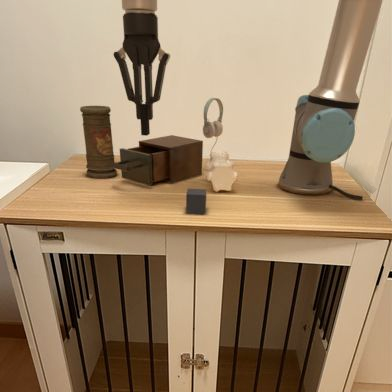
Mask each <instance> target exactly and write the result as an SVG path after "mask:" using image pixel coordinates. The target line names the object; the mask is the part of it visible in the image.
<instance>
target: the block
mask: <svg viewBox="0 0 392 392" xmlns="http://www.w3.org/2000/svg"><path fill="white" fill-rule="evenodd" d="M185 199H186V200H185V201H186V203H185V213H186V214H187V215H189V214H190V215H206V210H207V189H206V188H205V189H204V188H187V190H186V197H185Z"/></svg>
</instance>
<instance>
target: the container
mask: <svg viewBox="0 0 392 392" xmlns="http://www.w3.org/2000/svg"><path fill="white" fill-rule="evenodd" d="M79 110H80V112H81V117H82V128H83V129H82V130H83V136H84V144H85V145H84V146H85V159H86V166H85V168H86V169H87V170H86V176H87V177H89V178H93V179H110V178H114V177H116V176H117V175H118V169H115V168H111V167H110V166H109V163H110V162H114V163H116V162H115V154H114V144H113V135H112V133H113V132H112V123H111V114H110V113H111V111H112V109H111V107H110V106H106V105H82V106H80V108H79Z"/></svg>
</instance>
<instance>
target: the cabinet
mask: <svg viewBox="0 0 392 392" xmlns="http://www.w3.org/2000/svg"><path fill="white" fill-rule="evenodd" d="M144 145H146V146H151V147H155V148H160V149H165V150H169V178H167V179H163V180H160V182H163V183H167V184H174V183H178V182H181V181H184V180H188V179H191V178H194V177H195V178H196V177H198V176H202V175H203V153H204V148H203V147H204V140H200V139H196V138H195V139H194V138H189V137H183V136H179V135H173V134H171V135H165V136H160V137H154V138H149V139H143V140H139V141H138V147H139V146H144Z"/></svg>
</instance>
